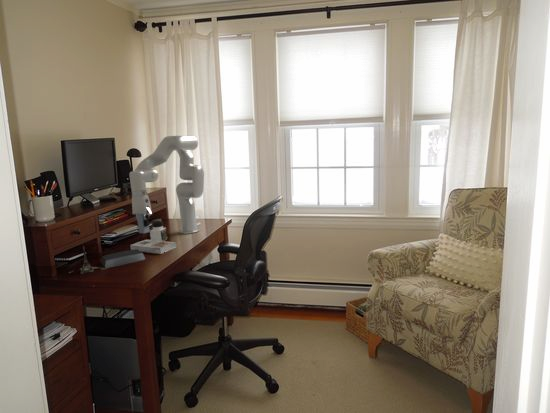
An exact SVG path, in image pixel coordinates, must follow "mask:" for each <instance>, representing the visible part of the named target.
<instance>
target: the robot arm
mask: <svg viewBox="0 0 550 413" xmlns="http://www.w3.org/2000/svg"><path fill="white" fill-rule="evenodd" d="M198 145H199V142H198V139H197V138H196V136H193V135H168V136H165V137H163V138H162V139H161V141H160V143H159V144H158V145H157V147H156V148H155V150H154V151H153V152H152V153H151V154H150V155H148V156H147V157H145V158H143V160H141V161H140V162H139V163H138V165H137V166H136V168H135V169H134V170H133V171H130V172H129V181H130V189H131V207H132V208H131V210H132V212H131V214H132V215H134V217H135V218H136V219H135V220H136V221H137V214H143V217H144V220H143V221H144V227H146V226H149V227H150V222H149V219H150V217H151V216H152V215H153V213H152V206H151V202H150V201H151V200H150V198H149V197H150V196H149V195H148V191H147V186H146V183H154V182H156V181H158V179H159V172H158V171H157V170H156V169H154V168H155V167H158V166H161V165H163V164H164V163H166V162H167V161H168V159H169V158H170V156H171V155H172V154H173V152H174V151H176V152H177V154H178V157H179V178H180V179H181V180H183V181H192V182H180V183H178V184H177V185H176V188H175V193H176V196H177V199H178V200H177V201H178V205H179V217H180V218H179V219H180V224H181V225H180V227H181V229H179V231H178V232H179V233H180V234H182V235H185V234H186V235H187V234H194V233H197V232H199V231H200V228H199V226H200V227H201V225H202V224H201V222H197V217H196V216H197V215H196V207H195V206H196V204H195V201H194V199H198V198H201V197H202V195H203V193H204V186H205V185H204V183H205V173H204V172H205V171H204V169H203V167H202V166H201V165H197V164H194V161H195V160H194V159H195V158H194V155H193V152H192V151H194V150H196V149H197V148H198ZM145 215H146V216H145ZM137 223H138V221H137Z"/></svg>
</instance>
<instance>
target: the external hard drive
mask: <svg viewBox="0 0 550 413" xmlns="http://www.w3.org/2000/svg"><path fill="white" fill-rule="evenodd" d="M144 260H146V257H145V255H144V252H141V251H139V250H138V249H135V250H131V249H130V250H129V249H128V250H124V251H118V252H113V253H110V254H109V253H108V254H105V255H102V256H101V258H100V264H102V266H103V268H107V269H109V268H114V267H119V266H122V265H124V266H125V265H128V264H129V265H130V264H133V263H137V262H138V263H139V262H141V261H144Z"/></svg>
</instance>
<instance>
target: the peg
mask: <svg viewBox="0 0 550 413" xmlns="http://www.w3.org/2000/svg"><path fill="white" fill-rule="evenodd" d="M145 216H146V215H145ZM143 220H144V217H143V214H137V219H136V221H138V222H137V227H138V234H147V233H150V230H151V229H150V225H149V226H146V227H144V221H143Z"/></svg>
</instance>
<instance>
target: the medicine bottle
mask: <svg viewBox="0 0 550 413" xmlns="http://www.w3.org/2000/svg"><path fill="white" fill-rule="evenodd" d="M163 222H164V221H162V220H161V219H158V220H154V221H152V222H151V225H152V228H151V229H149V230H150V232H149V236H150V240H157V241H166V240H167V239H168V232H167V227H164V223H163Z"/></svg>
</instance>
